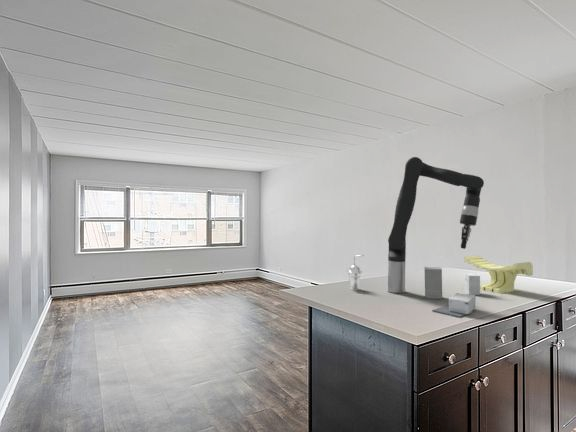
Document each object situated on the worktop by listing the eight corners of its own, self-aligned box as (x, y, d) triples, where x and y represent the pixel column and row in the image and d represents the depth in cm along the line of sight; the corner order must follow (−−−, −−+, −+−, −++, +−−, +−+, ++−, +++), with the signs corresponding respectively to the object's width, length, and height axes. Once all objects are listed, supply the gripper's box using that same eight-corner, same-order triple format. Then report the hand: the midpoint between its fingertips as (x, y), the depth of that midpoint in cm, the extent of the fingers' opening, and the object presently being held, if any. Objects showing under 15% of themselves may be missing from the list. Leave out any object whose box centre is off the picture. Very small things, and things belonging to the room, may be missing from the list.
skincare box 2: (457, 304, 164) (447, 311, 153) (457, 292, 164) (447, 298, 153) (476, 307, 159) (468, 315, 147) (476, 294, 158) (468, 301, 147)
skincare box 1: (441, 296, 182) (441, 266, 182) (442, 300, 175) (442, 268, 175) (424, 295, 185) (424, 265, 185) (424, 298, 178) (424, 267, 178)
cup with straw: (352, 286, 205) (352, 253, 205) (365, 289, 199) (365, 254, 199) (344, 289, 199) (344, 254, 199) (357, 291, 193) (357, 255, 193)
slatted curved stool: (532, 293, 191) (532, 261, 190) (516, 296, 183) (516, 263, 183) (480, 283, 217) (480, 255, 217) (464, 286, 210) (464, 256, 209)
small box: (480, 295, 186) (480, 276, 186) (468, 294, 187) (469, 275, 187) (475, 292, 193) (475, 273, 193) (464, 291, 195) (464, 273, 195)
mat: (449, 305, 164) (449, 304, 164) (476, 311, 155) (476, 309, 155) (432, 311, 154) (432, 310, 154) (459, 317, 145) (459, 316, 145)
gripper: (462, 216, 185) (456, 248, 184) (459, 212, 174) (453, 245, 173) (478, 218, 181) (472, 250, 180) (476, 214, 170) (469, 248, 169)
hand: (463, 248), depth 176 cm, fingers closed
